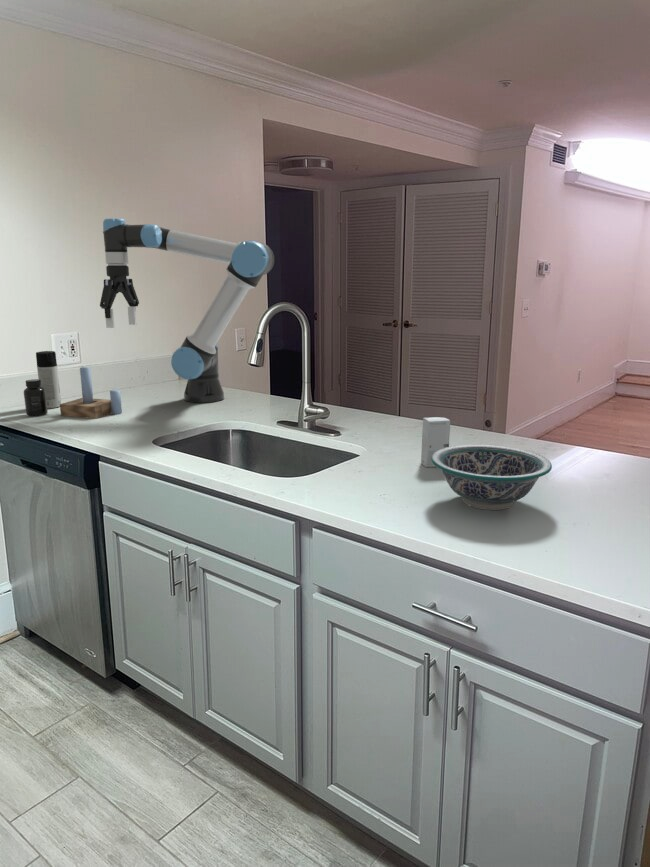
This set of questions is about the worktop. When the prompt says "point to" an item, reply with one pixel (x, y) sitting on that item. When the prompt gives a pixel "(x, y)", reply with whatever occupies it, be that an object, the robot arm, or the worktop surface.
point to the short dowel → (115, 401)
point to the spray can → (49, 377)
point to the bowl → (490, 473)
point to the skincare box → (434, 438)
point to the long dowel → (86, 385)
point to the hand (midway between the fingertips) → (121, 326)
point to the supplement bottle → (35, 398)
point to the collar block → (86, 408)
